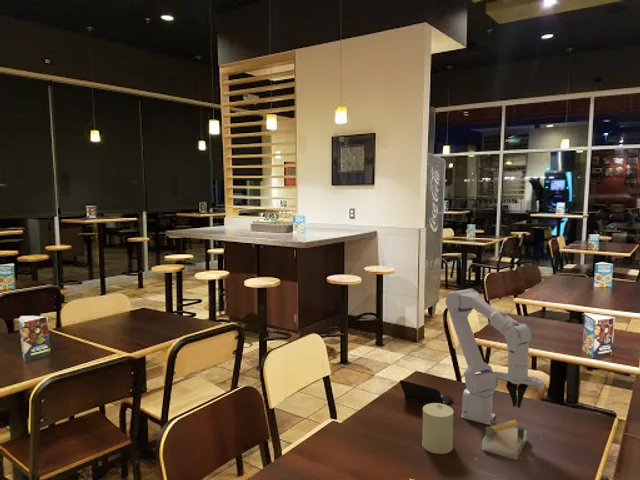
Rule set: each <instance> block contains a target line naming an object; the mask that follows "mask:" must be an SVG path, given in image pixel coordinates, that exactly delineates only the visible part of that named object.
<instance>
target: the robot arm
mask: <svg viewBox="0 0 640 480" xmlns="http://www.w3.org/2000/svg"><path fill="white" fill-rule="evenodd" d="M445 305H446V307H447V311H448V313H449V318H450V319H451V320H450V321H451V323H452V326H453V328H454V332H455V334H456V337H457V339H458V343H459V345H460V349H461V350H462V354H463V356H464V359H465V362H466V365H467V367H466V369H465V370H464V372H463V376H464V382H465V384H464V385H465V387H466V388H465V389H464V390H463V393H462V399H461V414H460V415H461V418H462V419H466V420H470V421H473V422H477V423H481V424H484V425H489V426H490V420H494V418H495V417H496V414H495V413H493V393H495V389H497V388H498V386H499V381H502V382H506V384H505V388H506V389H507V391H508V393H509V396H510V398H511V402H512V407H514V408H515V407H517V408H518V409H519V408H521V407H522V402H523V398H524V396H525V393H526V392H527V390H528V389H529V387H531V388H532V387H533V388H538V389H539V390H543V389H544V387H545V386H544V385H545V384H544V383H545V381H544V380H541V379H537V378H534V377H530V376H528V375H529V348H530V347H529V345H530V342H532V341H533V338H534V332H533V330H532V328H531V326H530V325H528V324H527V323H520V322H519V321H518V320H516V319H513V318H512V317H511V316H509V315H508V312H506V311H505V310H503V311H502V310H495V309H494V308H493V307H492V306H491V305H490V304H489V303H488V302H486V301H485V300H484V299H483V298H482V297H481V295H480V293H479V292H477V291H476V290H475V289H474V288H467V289H462V290H461V289H459V290H451V291H448V293H447V294H446V298H445ZM473 310H474V311H476V312H478V313H480V314H481V315H482V316H484V317H485V318H487V319H488V320H489V323H490V326H492V327H493V328H494V329H495V330H497V331H498V332H499V333H500V334H502V335H503V336H504V340H505V341H506V344H507V345H506V347H507V351H508V352H507V353H508V355H507V356H508V357H507V372H499V371H498V372H497V371H493V369H492V366H491V365H489V364H488V363H486V362H485V361H484V359H483V357H482V354H481V351H480V349H479V346H478V344H477V340H476V338H475V335H474V332H473V330H472V327H471V325H470V324H471V323H470V322H469V319H468V317H469V315H470V314H471V313H472V312H473Z"/></svg>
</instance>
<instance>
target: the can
mask: <svg viewBox="0 0 640 480" xmlns="http://www.w3.org/2000/svg"><path fill="white" fill-rule="evenodd" d="M454 413H455V412H454V409H453V408H452V407H451V406H449V404H448V405H445V404H441V403H430V404H425V405H423V407H422V442H421V445H422V447H423V448H424V449H425V450H426V451H427V452H430V453H433V454H437V455H442V454H448V453H451V451H453V449H454V445H453V442H454V441H453V440H454V439H453V436H454V435H453V433H454V428H453V427H454Z"/></svg>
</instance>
